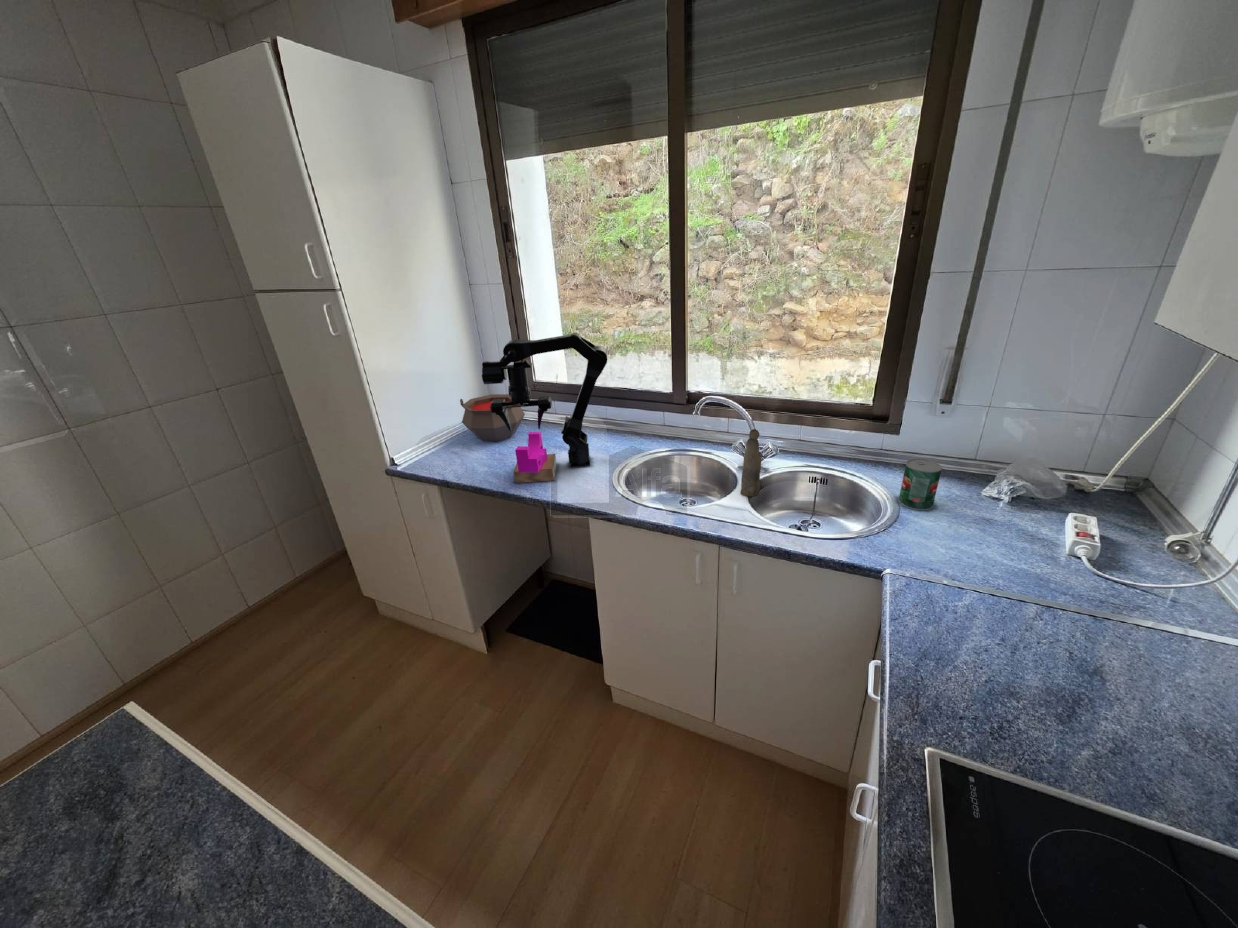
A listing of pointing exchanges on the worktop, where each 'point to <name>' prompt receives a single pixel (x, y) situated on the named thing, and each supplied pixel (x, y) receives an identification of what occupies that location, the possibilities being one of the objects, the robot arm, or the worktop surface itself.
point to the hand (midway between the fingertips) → (524, 429)
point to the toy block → (531, 454)
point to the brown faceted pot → (490, 418)
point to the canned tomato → (919, 484)
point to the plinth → (543, 475)
